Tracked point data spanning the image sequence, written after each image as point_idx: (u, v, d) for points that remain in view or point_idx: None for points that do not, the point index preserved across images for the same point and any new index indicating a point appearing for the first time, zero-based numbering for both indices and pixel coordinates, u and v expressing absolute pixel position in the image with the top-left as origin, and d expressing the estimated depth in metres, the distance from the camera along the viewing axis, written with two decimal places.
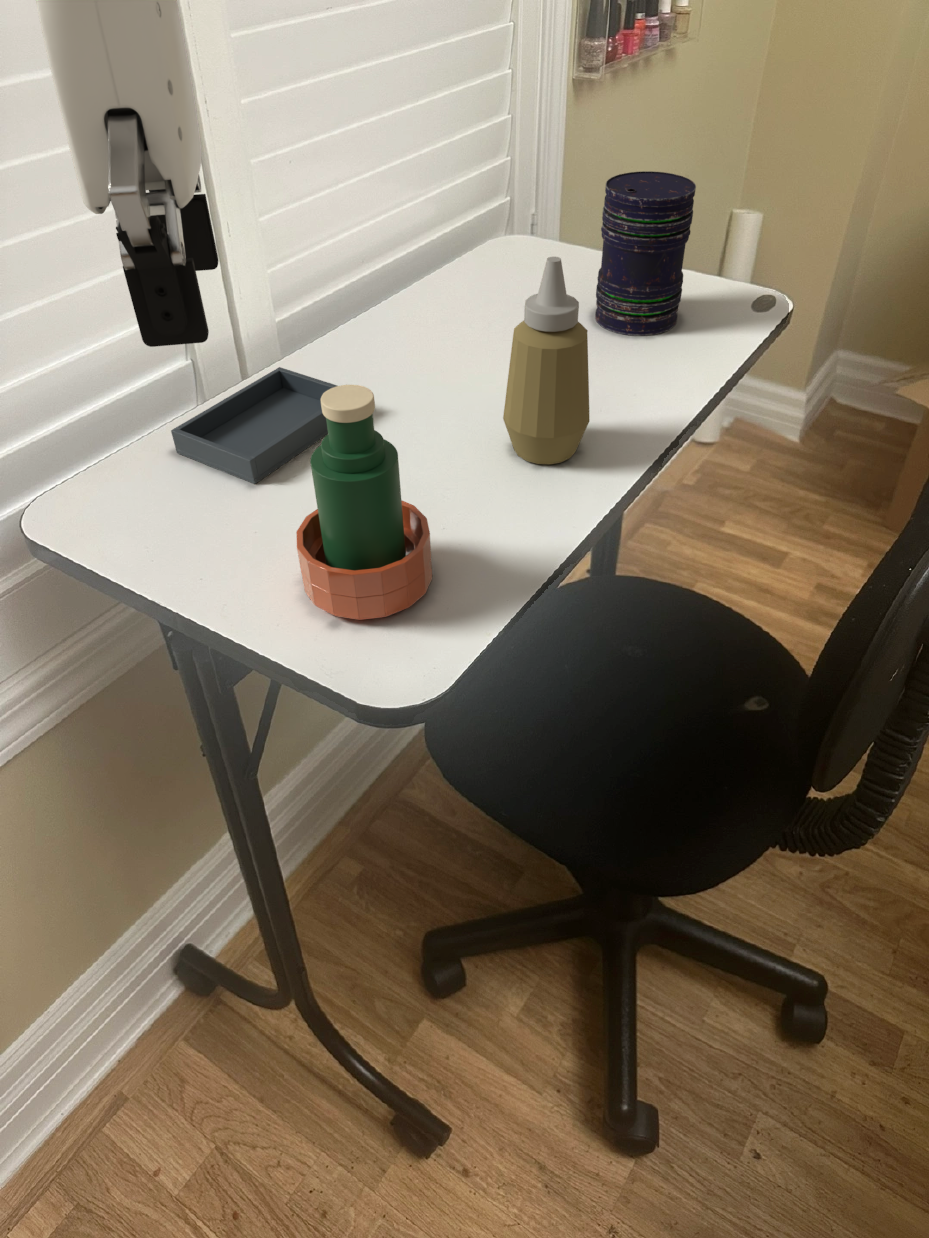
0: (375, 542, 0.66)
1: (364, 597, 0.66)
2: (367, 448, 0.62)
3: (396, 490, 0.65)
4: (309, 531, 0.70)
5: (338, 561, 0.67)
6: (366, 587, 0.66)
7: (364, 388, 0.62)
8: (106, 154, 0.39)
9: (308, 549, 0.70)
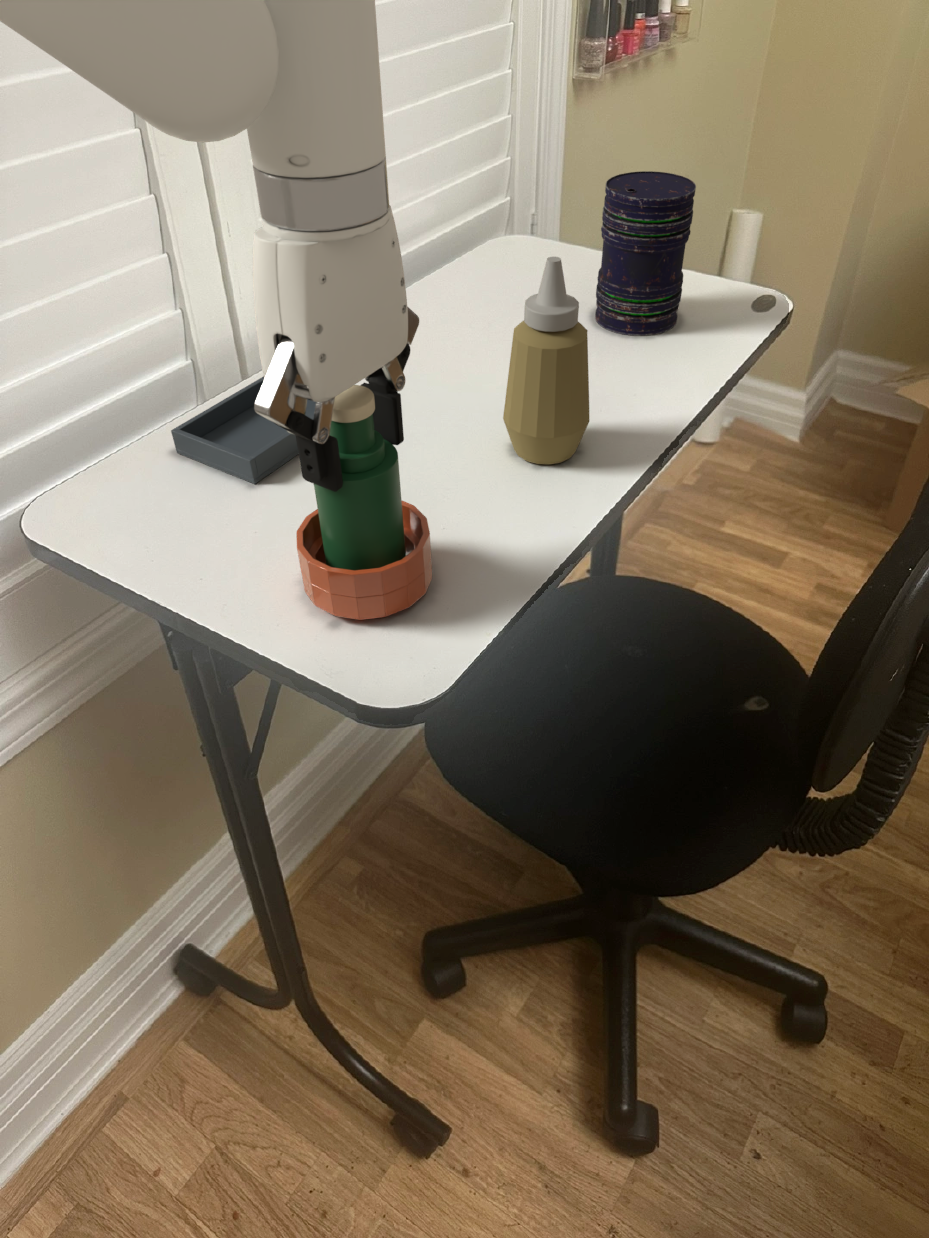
0: (376, 542, 0.66)
1: (364, 597, 0.66)
2: (367, 448, 0.62)
3: (396, 490, 0.65)
4: (309, 531, 0.70)
5: (338, 561, 0.67)
6: (366, 587, 0.66)
7: (364, 388, 0.62)
8: None
9: (308, 549, 0.70)
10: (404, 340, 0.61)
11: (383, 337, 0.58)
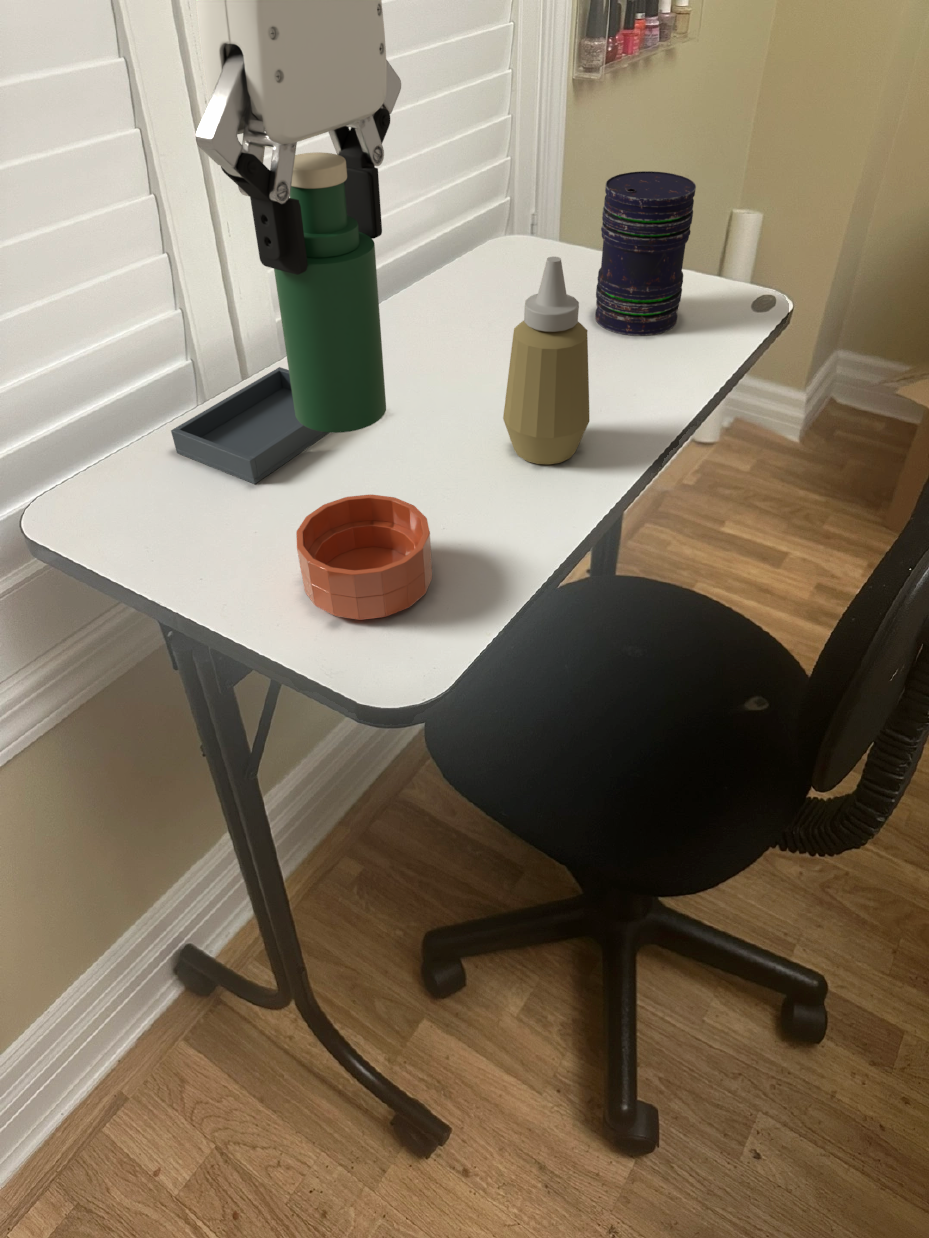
0: (348, 351, 0.56)
1: (364, 597, 0.66)
2: (337, 228, 0.53)
3: (372, 288, 0.55)
4: (309, 531, 0.70)
5: (304, 378, 0.57)
6: (366, 587, 0.66)
7: (335, 155, 0.52)
8: None
9: (308, 549, 0.70)
10: (382, 93, 0.51)
11: (356, 76, 0.49)
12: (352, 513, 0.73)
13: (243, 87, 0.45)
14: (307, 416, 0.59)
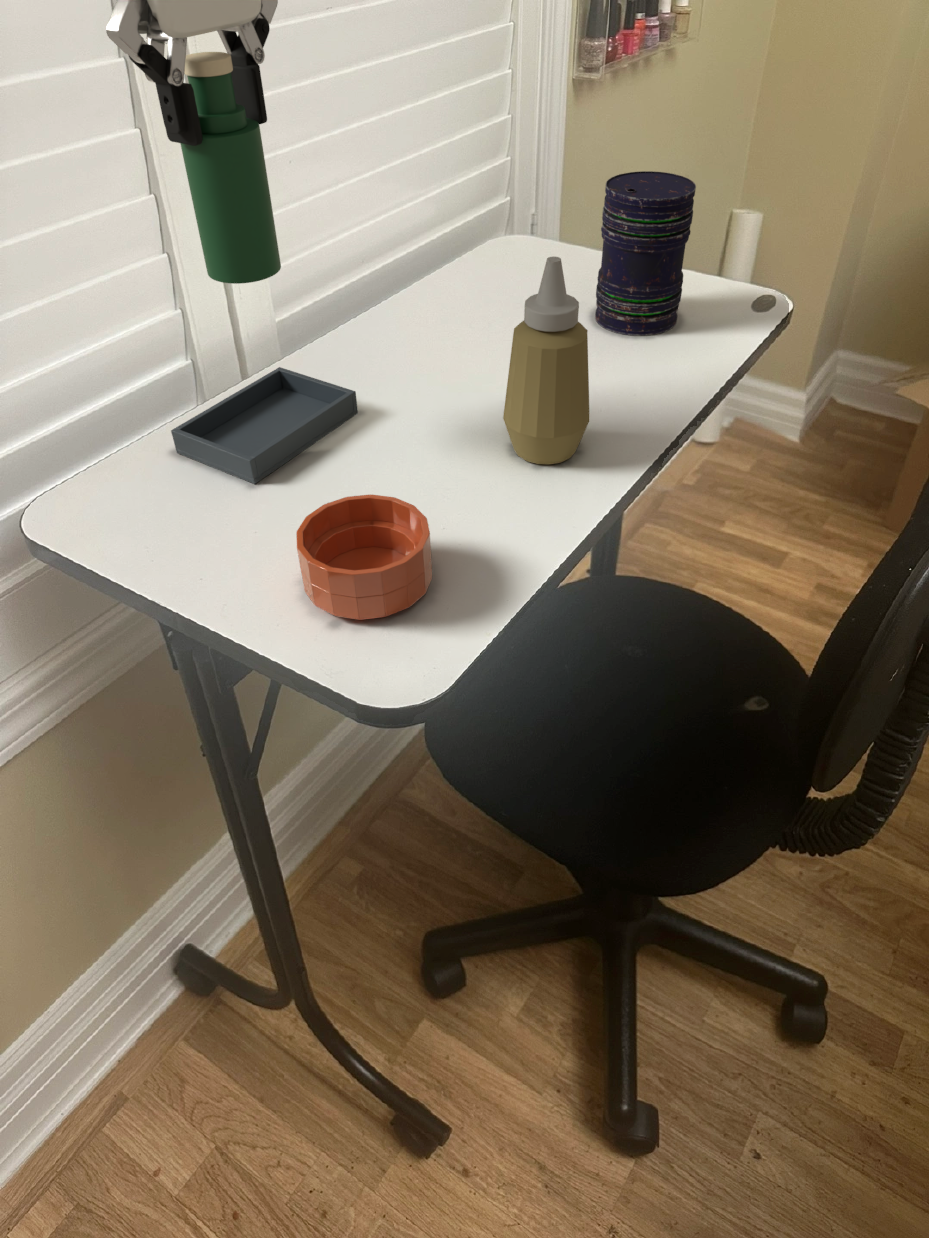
0: (241, 212, 0.71)
1: (364, 597, 0.66)
2: (227, 111, 0.68)
3: (258, 161, 0.70)
4: (309, 531, 0.70)
5: (209, 236, 0.73)
6: (366, 587, 0.66)
7: (223, 53, 0.68)
8: None
9: (308, 549, 0.70)
10: (257, 3, 0.66)
11: None
12: (352, 513, 0.73)
13: None
14: (214, 270, 0.75)
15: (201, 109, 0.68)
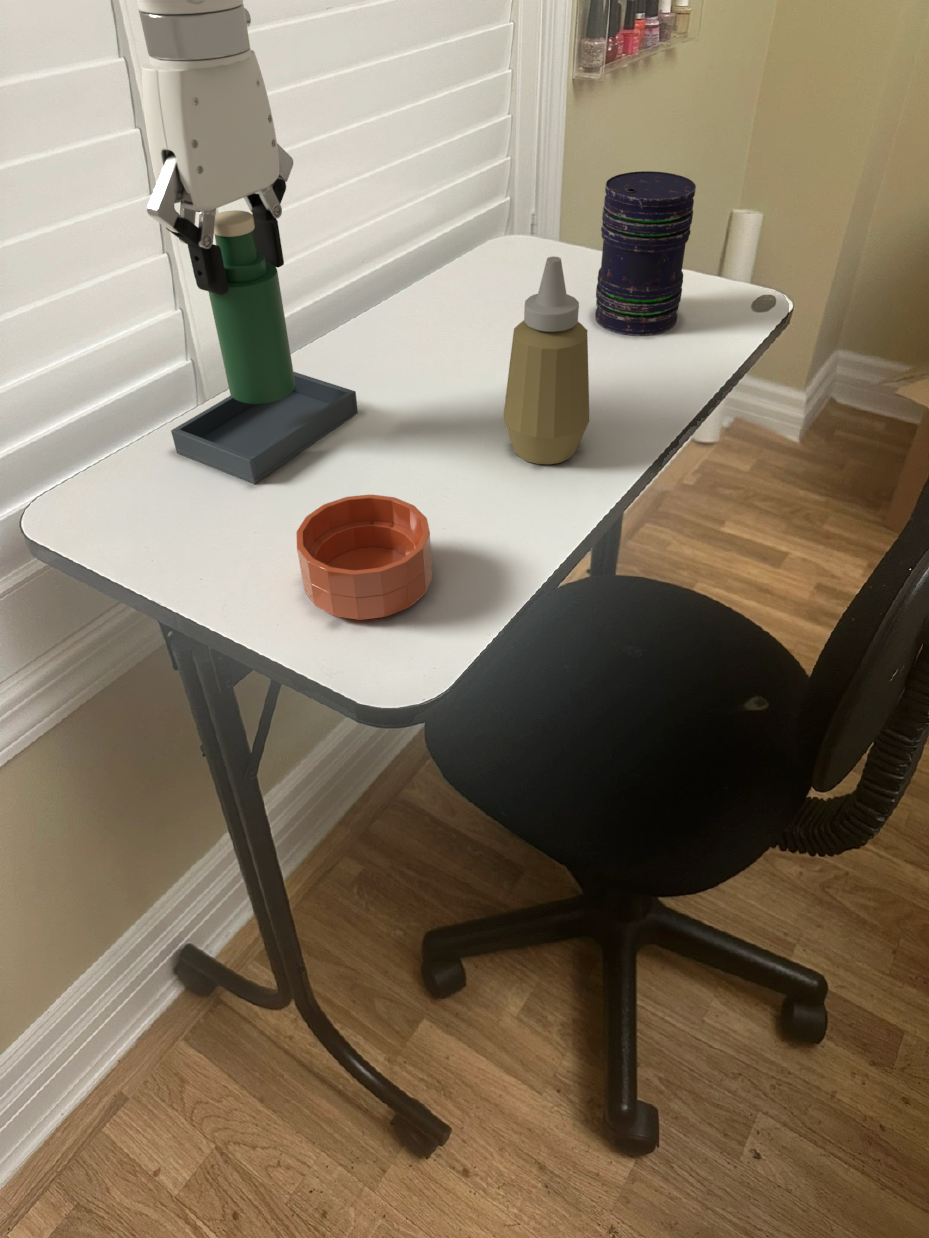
0: (261, 346, 0.81)
1: (364, 597, 0.66)
2: (249, 262, 0.77)
3: (276, 302, 0.80)
4: (309, 531, 0.70)
5: (233, 365, 0.82)
6: (366, 587, 0.66)
7: (246, 212, 0.77)
8: None
9: (308, 549, 0.70)
10: (276, 171, 0.76)
11: (255, 163, 0.73)
12: (352, 513, 0.73)
13: (177, 176, 0.69)
14: (236, 392, 0.84)
15: (226, 261, 0.77)
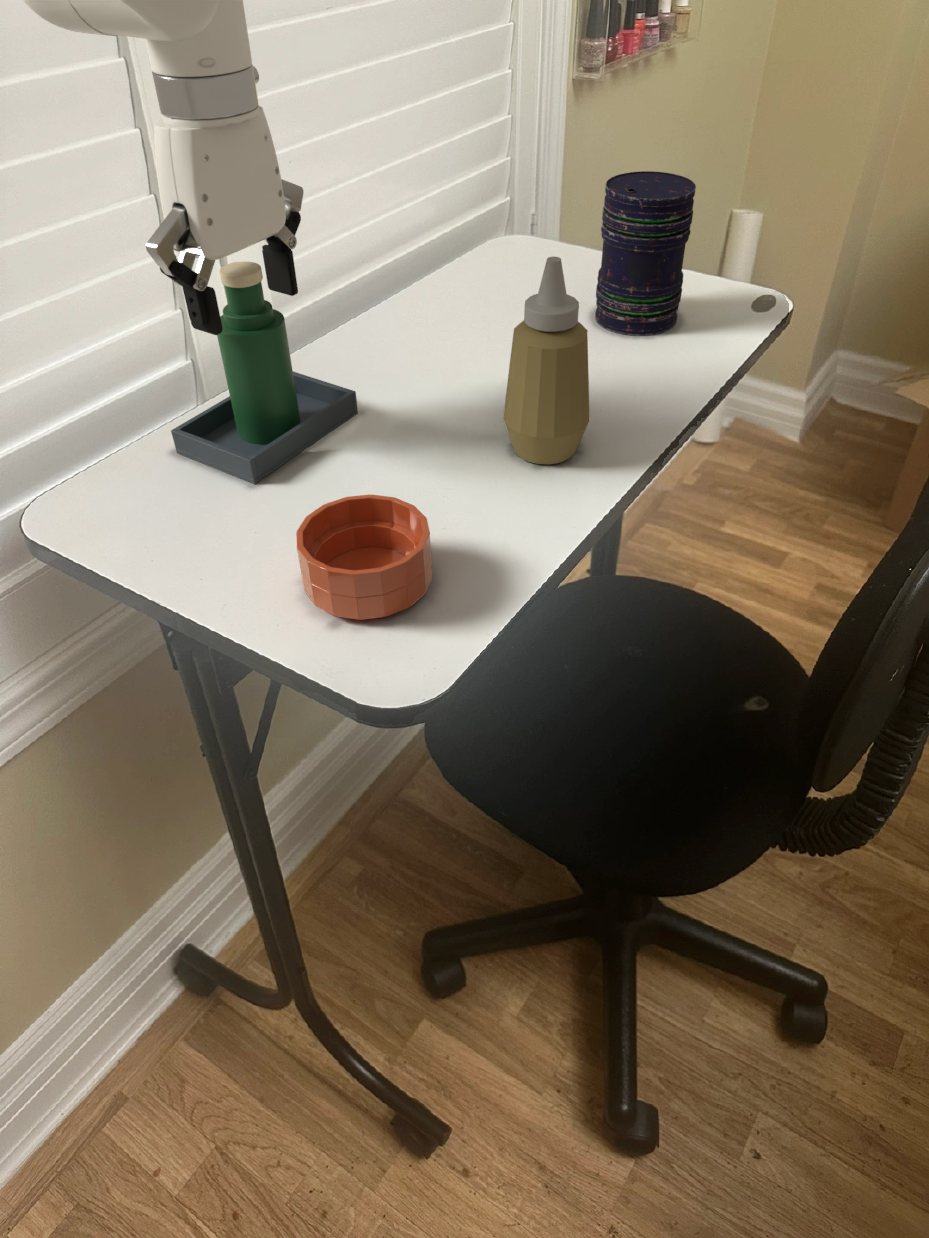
0: (268, 390, 0.83)
1: (364, 597, 0.66)
2: (257, 311, 0.80)
3: (283, 348, 0.82)
4: (309, 531, 0.70)
5: (241, 408, 0.85)
6: (366, 587, 0.66)
7: (254, 263, 0.80)
8: None
9: (308, 549, 0.70)
10: (282, 219, 0.78)
11: (262, 213, 0.76)
12: (352, 513, 0.73)
13: (182, 222, 0.71)
14: (244, 433, 0.87)
15: (235, 310, 0.80)
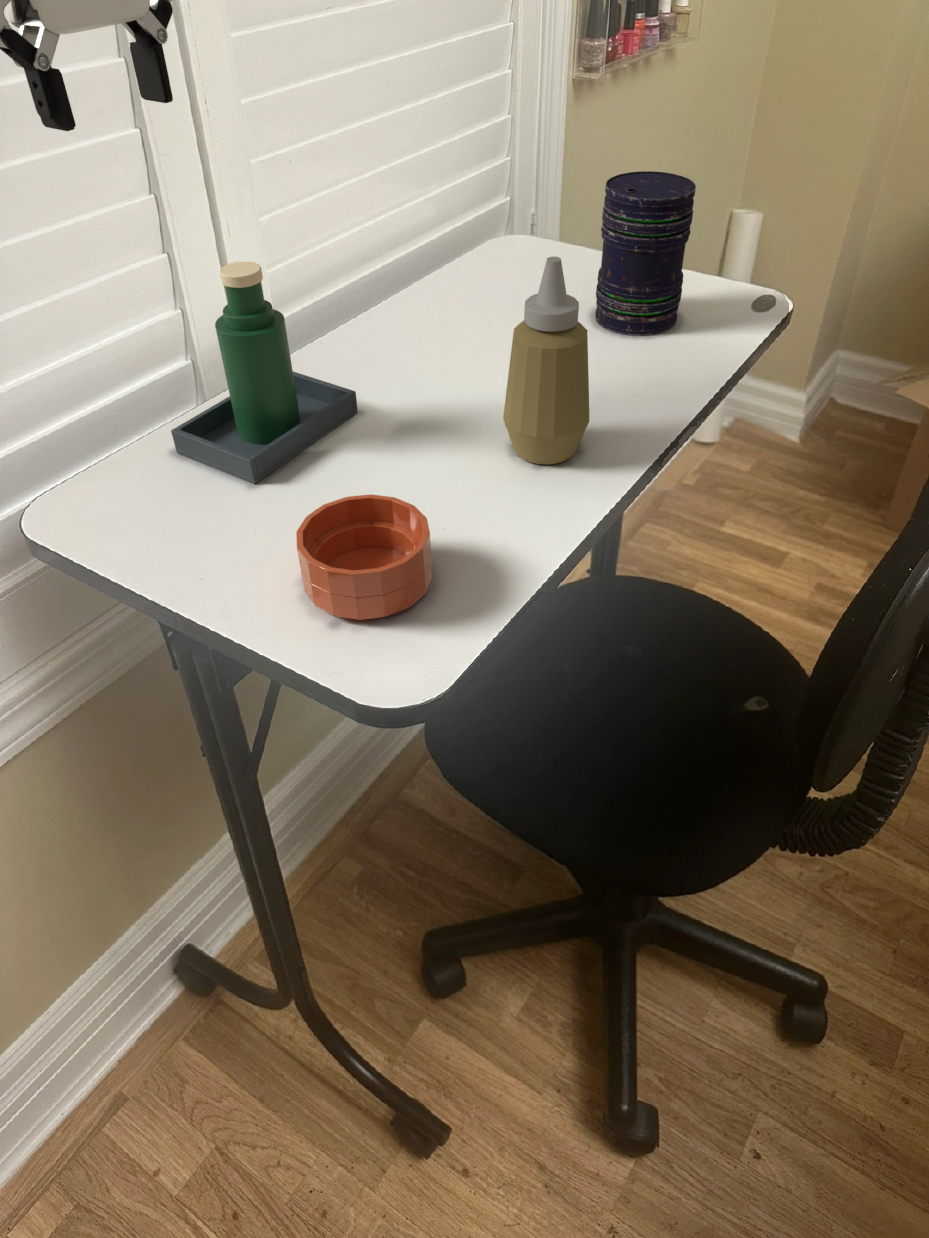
0: (268, 390, 0.83)
1: (364, 597, 0.66)
2: (257, 311, 0.80)
3: (283, 348, 0.82)
4: (309, 531, 0.70)
5: (241, 408, 0.85)
6: (366, 587, 0.66)
7: (254, 263, 0.80)
8: None
9: (308, 549, 0.70)
10: (145, 1, 0.68)
11: None
12: (352, 513, 0.73)
13: None
14: (244, 433, 0.87)
15: (235, 310, 0.80)
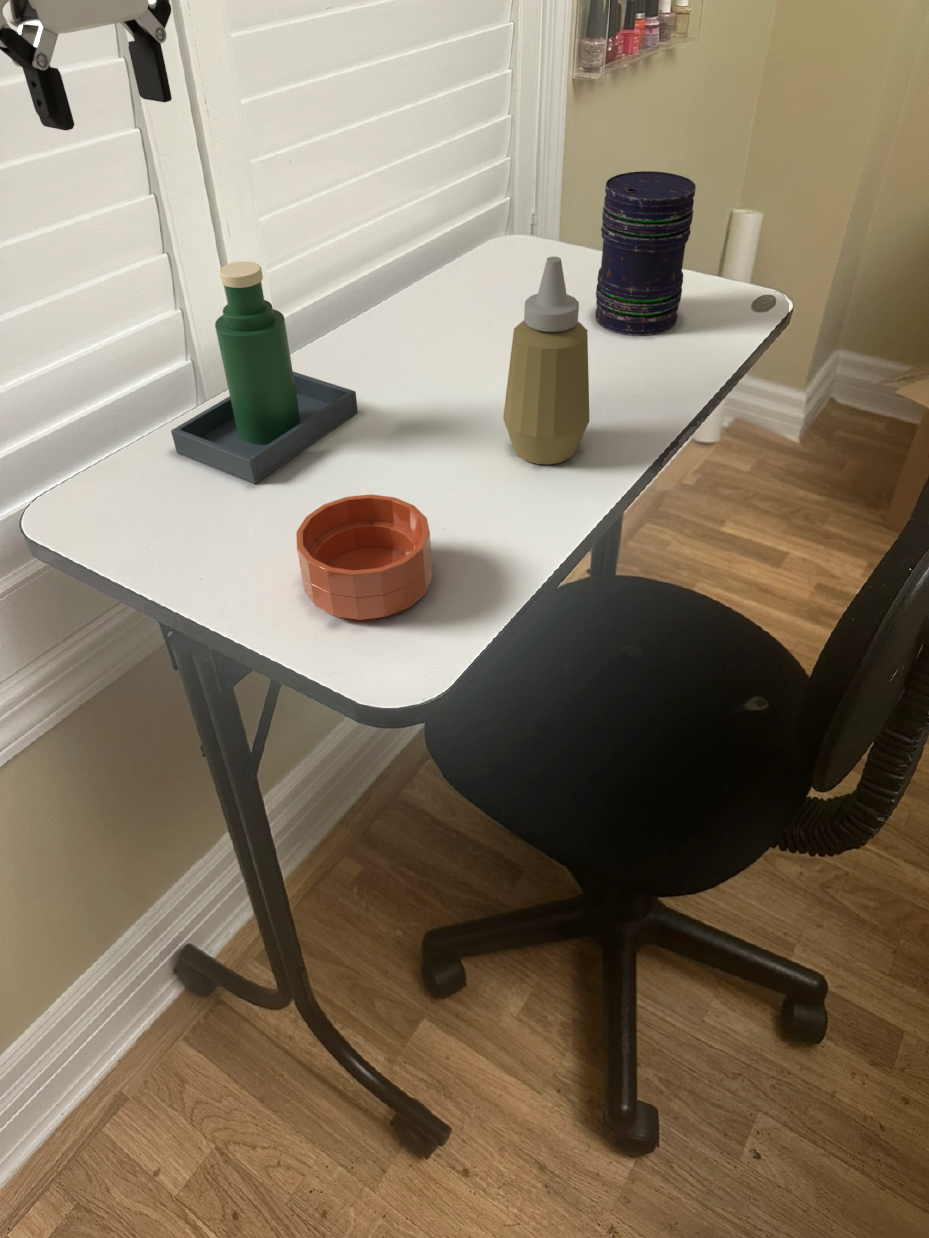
0: (268, 390, 0.83)
1: (364, 597, 0.66)
2: (257, 311, 0.80)
3: (283, 348, 0.82)
4: (309, 531, 0.70)
5: (241, 408, 0.85)
6: (366, 587, 0.66)
7: (254, 263, 0.80)
8: None
9: (308, 549, 0.70)
10: (143, 0, 0.68)
11: None
12: (352, 513, 0.73)
13: None
14: (244, 433, 0.87)
15: (235, 310, 0.80)
